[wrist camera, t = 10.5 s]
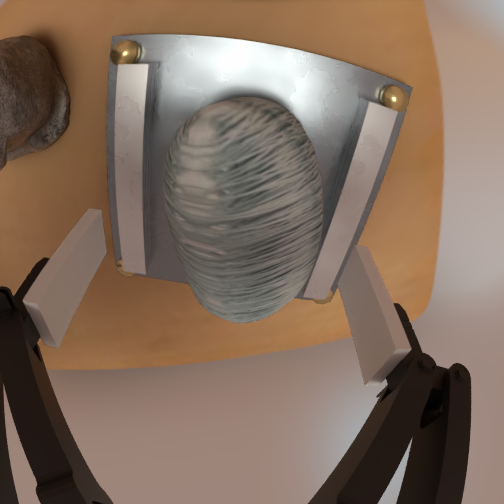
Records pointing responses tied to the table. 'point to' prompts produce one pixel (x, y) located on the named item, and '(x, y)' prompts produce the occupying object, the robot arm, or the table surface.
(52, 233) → the table surface
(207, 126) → the grey rock
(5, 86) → the figurine
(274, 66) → the carrier
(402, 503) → the robot arm
